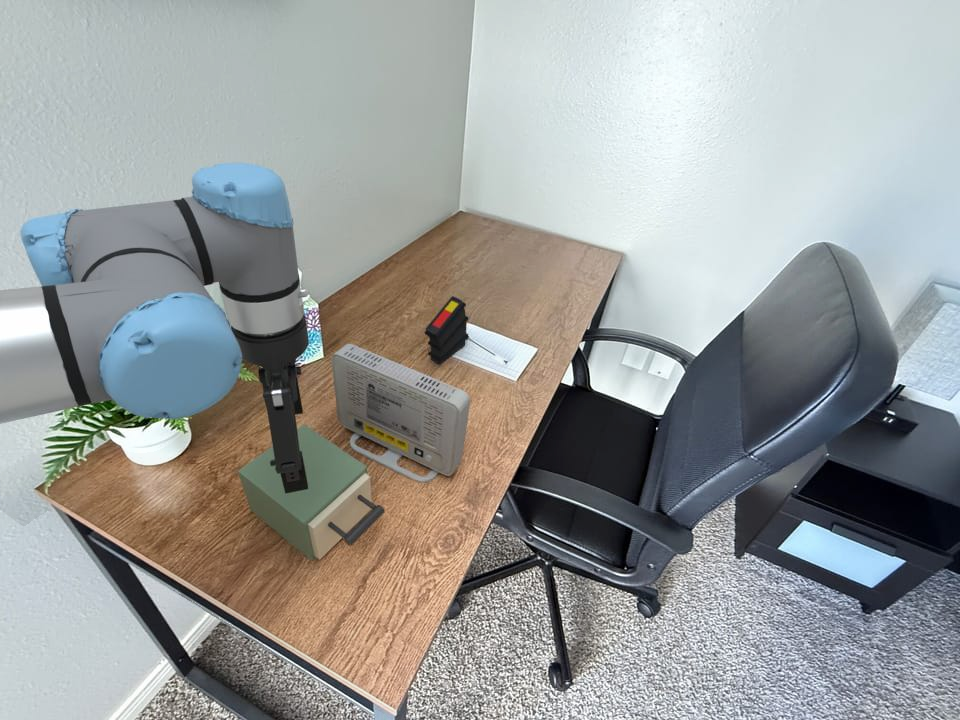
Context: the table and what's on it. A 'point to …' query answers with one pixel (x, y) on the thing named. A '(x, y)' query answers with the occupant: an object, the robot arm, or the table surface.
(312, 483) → the cabinet
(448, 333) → the black electronic module
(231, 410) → the table surface
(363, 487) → the drawer
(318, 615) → the table surface
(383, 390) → the network device
